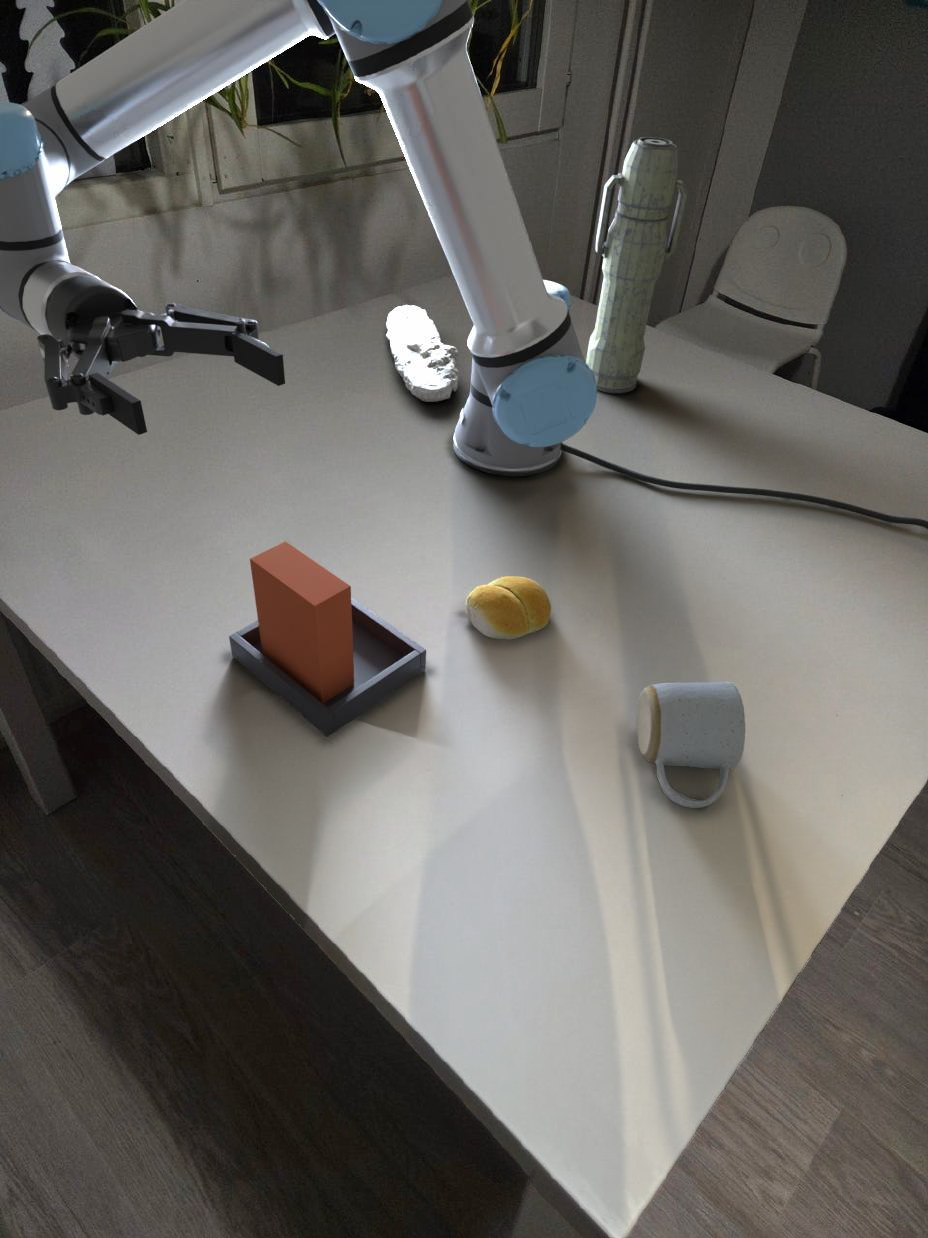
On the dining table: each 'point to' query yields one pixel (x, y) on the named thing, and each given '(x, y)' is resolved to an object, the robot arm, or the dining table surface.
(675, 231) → the thermos
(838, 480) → the dining table surface
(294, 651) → the reddish orange block
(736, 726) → the ceramic mug
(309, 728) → the dining table surface
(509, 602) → the bread roll
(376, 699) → the tray
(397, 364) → the elongated rock
